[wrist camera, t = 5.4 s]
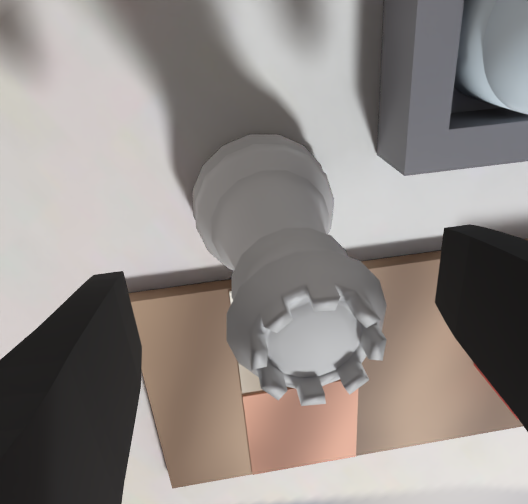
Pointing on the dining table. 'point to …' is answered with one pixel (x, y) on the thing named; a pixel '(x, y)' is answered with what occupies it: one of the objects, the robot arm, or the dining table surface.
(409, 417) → the game board
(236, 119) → the dining table surface
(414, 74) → the dome housing
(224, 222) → the rook chess piece
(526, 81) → the dome button
